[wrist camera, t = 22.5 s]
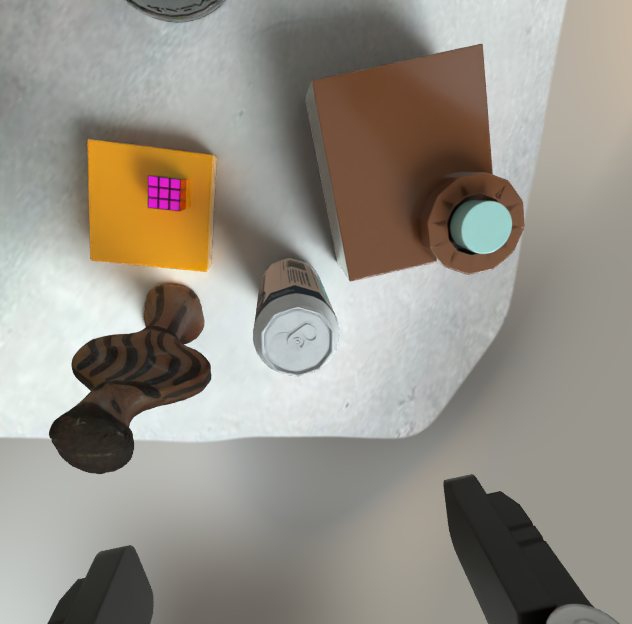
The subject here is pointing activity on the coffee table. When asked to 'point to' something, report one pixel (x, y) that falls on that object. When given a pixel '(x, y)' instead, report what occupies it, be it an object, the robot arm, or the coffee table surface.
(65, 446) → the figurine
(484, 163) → the dispenser
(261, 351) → the beer can
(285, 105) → the coffee table surface
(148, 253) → the glossy orange square box
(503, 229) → the push button
